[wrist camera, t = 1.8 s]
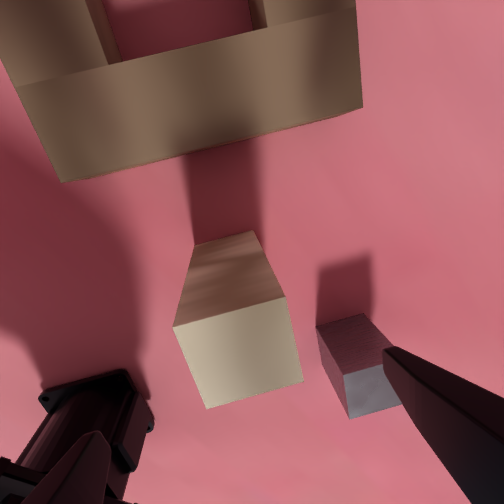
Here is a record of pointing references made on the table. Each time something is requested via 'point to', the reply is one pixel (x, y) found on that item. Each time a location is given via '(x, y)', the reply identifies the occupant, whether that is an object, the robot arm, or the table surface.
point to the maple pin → (235, 322)
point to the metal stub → (356, 364)
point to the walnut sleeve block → (174, 81)
